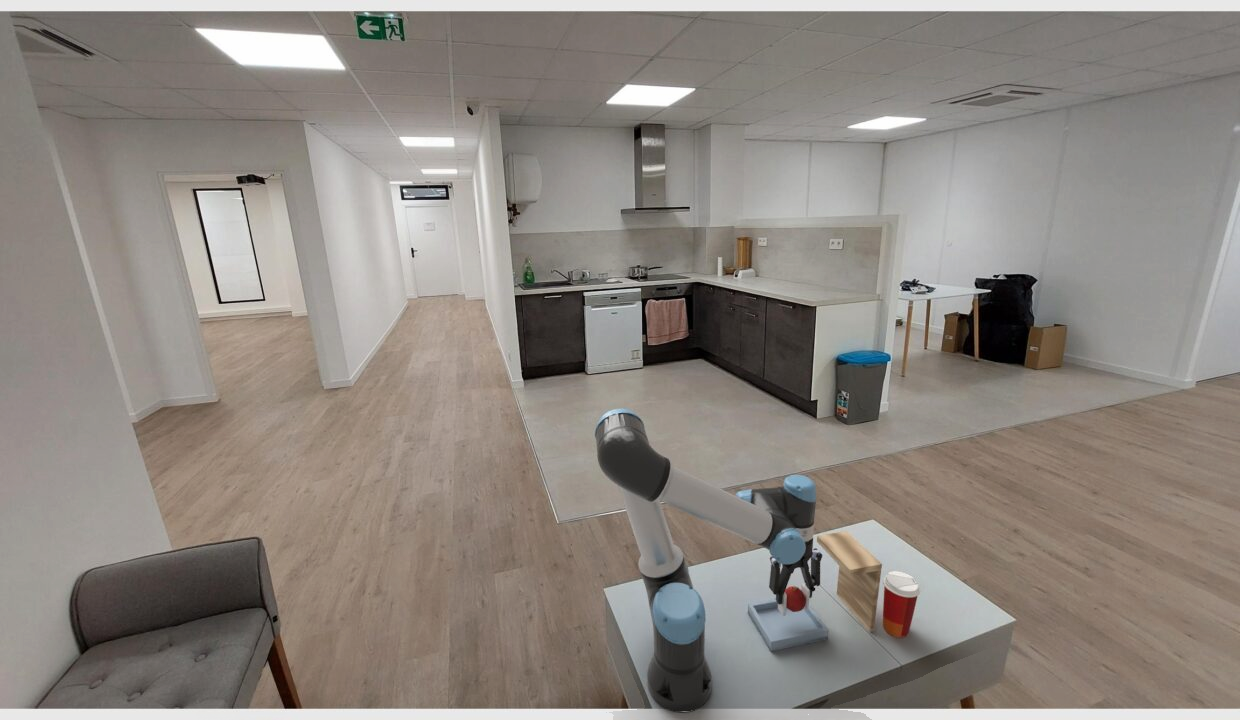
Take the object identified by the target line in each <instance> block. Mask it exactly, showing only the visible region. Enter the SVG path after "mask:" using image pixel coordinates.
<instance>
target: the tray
mask: <svg viewBox="0 0 1240 720" xmlns="http://www.w3.org/2000/svg"><path fill="white" fill-rule="evenodd" d="M747 614H748V616H749V618H750V620H751V621H752V622H753V624H754V626H755V627H756V629H757V632H758V633H759V634H760V636H761V638H762V640H763V641H764V643H765V644H766V646H767V649H768V650H769V651H770V652H773V651H778V650H784V649H788V648H791V647H792V648H793V647H797V646H802V645H807V644H812V643H817V642H821V641H825V640H828V639H829V629H828V627H827V626H826V624H825V623H824V622H823V621H822V619H821V618H820V616H819V615H818V614H817V613H816V611H815V610H814V609H813V608H812V606H811V605H810V604H809V611H805V609H804V608H803V609H802V610H801V611H799V612H792V611H790V610H789V609H788V608H786V616H783V615H782V614H781V612H780V611H779V609H778V602H777V601H776V598H771V599H766V600H761V601H755V602H751V603H747Z"/></svg>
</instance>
